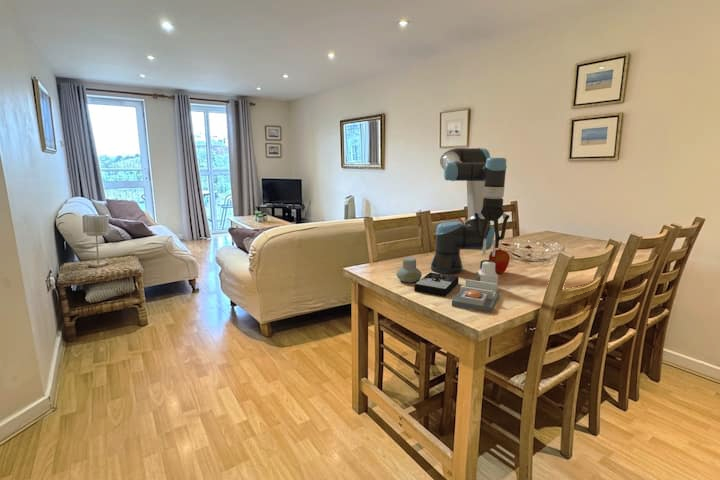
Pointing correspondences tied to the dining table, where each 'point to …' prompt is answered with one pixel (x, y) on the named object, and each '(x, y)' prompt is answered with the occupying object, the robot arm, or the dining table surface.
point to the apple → (500, 260)
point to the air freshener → (409, 271)
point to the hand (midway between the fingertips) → (488, 255)
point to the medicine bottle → (487, 272)
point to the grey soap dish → (484, 304)
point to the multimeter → (436, 284)
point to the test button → (474, 294)
